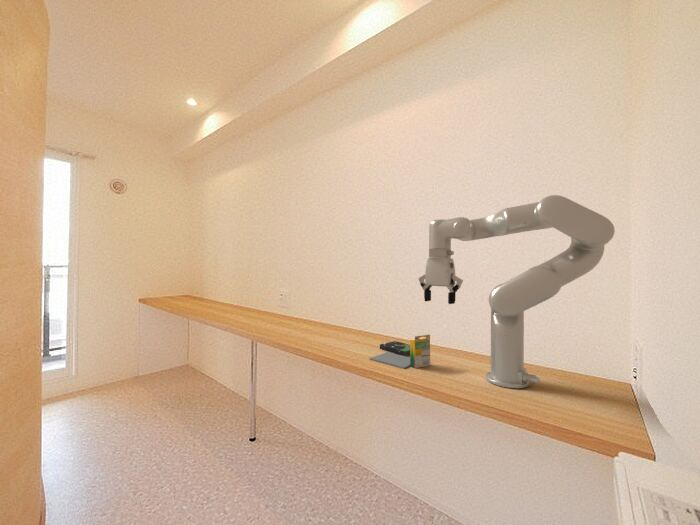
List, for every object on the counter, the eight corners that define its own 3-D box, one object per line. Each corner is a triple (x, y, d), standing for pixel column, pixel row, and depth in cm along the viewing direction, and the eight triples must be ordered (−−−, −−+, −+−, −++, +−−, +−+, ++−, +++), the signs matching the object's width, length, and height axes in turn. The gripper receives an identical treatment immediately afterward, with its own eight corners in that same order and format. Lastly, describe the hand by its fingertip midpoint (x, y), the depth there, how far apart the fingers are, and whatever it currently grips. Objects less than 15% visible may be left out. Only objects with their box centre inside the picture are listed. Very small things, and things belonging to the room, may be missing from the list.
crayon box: (425, 363, 116) (425, 332, 116) (430, 365, 114) (430, 334, 114) (409, 366, 113) (409, 334, 113) (414, 368, 110) (415, 336, 111)
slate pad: (421, 361, 119) (421, 360, 119) (404, 368, 110) (404, 367, 110) (387, 353, 130) (387, 352, 130) (369, 359, 121) (369, 358, 121)
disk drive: (379, 350, 136) (405, 358, 125) (379, 344, 136) (404, 351, 125) (394, 346, 143) (420, 353, 131) (394, 340, 143) (420, 346, 131)
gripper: (467, 254, 106) (467, 304, 105) (425, 255, 119) (425, 299, 118) (456, 253, 101) (455, 305, 100) (413, 254, 114) (413, 300, 113)
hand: (439, 302), depth 109 cm, fingers open, 9 cm apart
